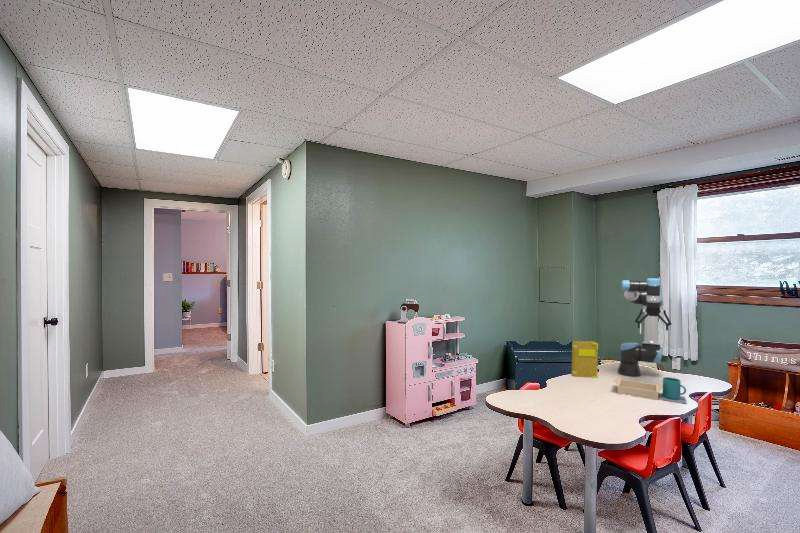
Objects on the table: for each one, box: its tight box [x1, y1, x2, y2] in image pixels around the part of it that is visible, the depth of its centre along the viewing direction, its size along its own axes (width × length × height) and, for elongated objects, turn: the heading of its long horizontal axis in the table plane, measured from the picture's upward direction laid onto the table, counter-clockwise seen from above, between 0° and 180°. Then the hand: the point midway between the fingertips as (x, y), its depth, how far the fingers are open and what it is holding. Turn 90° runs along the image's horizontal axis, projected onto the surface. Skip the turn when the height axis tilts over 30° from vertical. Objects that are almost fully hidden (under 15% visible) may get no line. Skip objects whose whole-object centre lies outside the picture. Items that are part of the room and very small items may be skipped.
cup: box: [662, 376, 687, 400], centre depth 245 cm, size 9×12×11 cm
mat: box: [661, 392, 688, 405], centre depth 245 cm, size 15×12×1 cm
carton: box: [613, 374, 663, 401], centre depth 255 cm, size 18×26×8 cm
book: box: [571, 340, 599, 379], centre depth 294 cm, size 17×7×25 cm, turn 84°
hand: (652, 334), depth 261 cm, fingers open, 13 cm apart
